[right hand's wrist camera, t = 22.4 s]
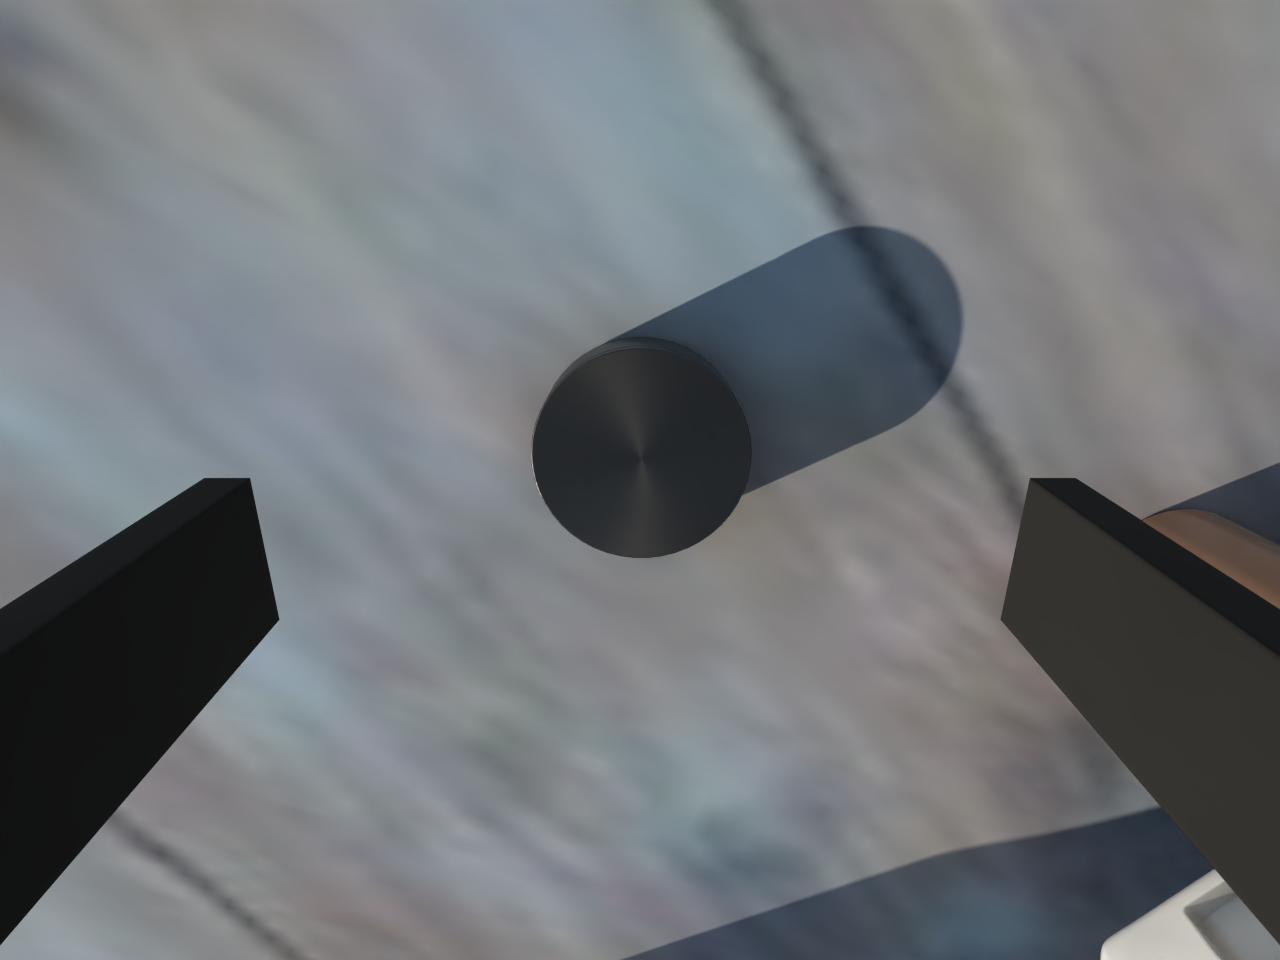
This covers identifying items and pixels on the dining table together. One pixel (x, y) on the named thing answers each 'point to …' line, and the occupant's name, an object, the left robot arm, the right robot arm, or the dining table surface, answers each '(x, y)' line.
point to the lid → (641, 448)
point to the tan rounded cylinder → (1225, 548)
